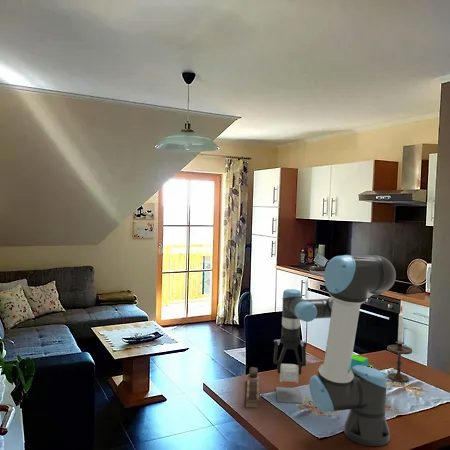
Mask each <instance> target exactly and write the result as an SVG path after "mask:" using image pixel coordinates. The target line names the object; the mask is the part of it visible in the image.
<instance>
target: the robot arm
mask: <svg viewBox="0 0 450 450" xmlns="http://www.w3.org/2000/svg"><path fill="white" fill-rule="evenodd" d="M396 273H397V271H396V269H395V267H394V265H393V264H392V262H391V261H390V260H389V259H388V258H386V257H383V256H381V255H377V254H376V255H375V254H373V255H372V254H371V255H366V254H365V255H363V254H362V255H359V254H358V255H352V254H351V255H350V254H344V255H336V256H334V257H332V258H331V259H329V261H328V262H327V263H326V267H325V270H324V273H323V278H324V279H323V281H324V286H325V288H326V290H327V291H328V292H329V293H328V294H329V296H330V297H328V298H319V299H318V298H317V299H316V298H315V299H304V298H303V297H302V291H300V290H298V289H294V288H291V289H289V288H288V289H284V290H283V294H282V299H281V300H282V311H281V312H282V313H281V314H282V315H281V316H282V317H281V325H282V326H281V337H280V339H273V343H274V350H273V351H274V352H273V365H276V366H277V374H279V383H282V382H283V381H282V364H283V363H282V362H283V361H284V358H285V355H286V353H287V350H293V351H294V355H295V357H296V358H295V359H296V361H297V364H296V368H297V372H298V374H297V382H295V383H296V384H298V383H299V375H302V367H306V366H307V355H306V348H307V346H308V343H307V341H306V340H301V336H300V334H301V328H300V327H301V322H302V321H303V322H306V323H307V322H312V321H314V320H315V319H330V321H329V324H328V325H329V326H328V331H327V332H328V335H327V339H326V340H327V341H326V348H325V355H324V360H323V361H324V362H323V363H321V364H320V365H319V367H318V370H317V374H314V375H312V376H311V377H310V379H309V381H308V382H309V384H308V385H309V386H308V387H309V392H310V395H311V399H312V402H313V404H314V406H315V407H316V408H317V409H318V410H319V411H320V412H323V413H327V412H330V413H333V412H339V411H345V410H346V411H347V410H348V411H349V412H348V414H347V417H346V420H345V422H344V426H343V432H344V434H345V436H346V437H347V438H348V439H350V440H351V441H353V442H354V443H357V444H360V445H363V446H369V447H380V446H381V447H382V446H385V445H387V444H388V443H389V442H390V437H391V434H390V432H391V431H390V428H389V424H388V422H387V418H386V403H387V401H386V400H387V388H388V386H387V385H388V384H387V377H386V375H385V373H384V372H383V371H381V370H379V369H376V368H374V367H373V368H371V367H367V366H360V365H356V366H353V367H352V369H351V370H350V367H351V361H352V355H354V354H353V353H354V349H355V347H354V346H355V340H356V334H357V328H358V322H359V316H360V310H361V305H362V304H364V303H366V301H367V299H368V298H370V297H371V296H373V295H374V296H379V295H382V294H383V293H385V292H387V291H389V290H390V289H391V288H392V287H393V286H394V284H395V282H396V279H397V278H396V277H397V274H396ZM280 343H281V344H282V350H281V352H280V355H279V358H278V353H279V345H280ZM299 345H300V346H301V351H302V352H301V353H302V354H301V355H302V356H301V358H302V359H300V355H299V352H298V346H299ZM301 360H302V362H301Z"/></svg>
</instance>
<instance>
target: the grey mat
mask: <svg viewBox="0 0 450 450" xmlns="http://www.w3.org/2000/svg"><path fill="white" fill-rule="evenodd" d="M275 392H276V401H277V403H284V402H291V403H290V404H300V403H302V404H303V398H302V395H301V390H300V388H297V387H281V386H276V387H275Z"/></svg>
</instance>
